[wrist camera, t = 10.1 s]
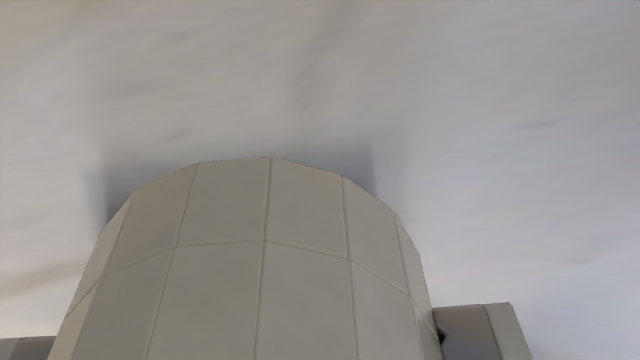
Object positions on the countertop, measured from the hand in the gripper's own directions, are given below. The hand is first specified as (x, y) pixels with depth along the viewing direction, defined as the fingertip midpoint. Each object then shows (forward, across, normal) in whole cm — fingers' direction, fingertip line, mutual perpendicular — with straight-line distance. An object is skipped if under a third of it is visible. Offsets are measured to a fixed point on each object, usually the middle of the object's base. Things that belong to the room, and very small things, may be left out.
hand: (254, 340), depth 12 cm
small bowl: (+2, 0, 0) cm, 2 cm away
